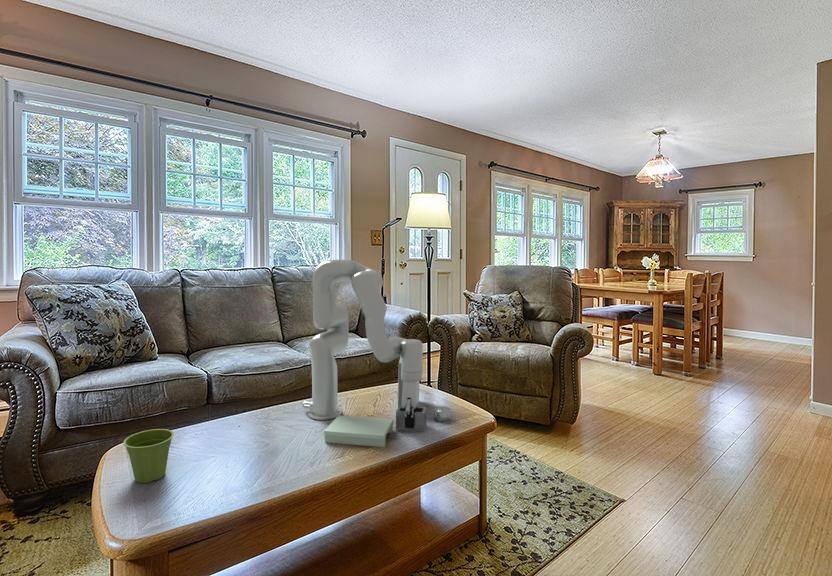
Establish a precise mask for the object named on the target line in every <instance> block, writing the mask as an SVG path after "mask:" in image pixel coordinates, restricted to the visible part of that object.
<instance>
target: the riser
mask: <svg viewBox="0 0 832 576" xmlns="http://www.w3.org/2000/svg"><path fill="white" fill-rule="evenodd" d="M393 429H394V418H383V417H382V418H381V417H368V416H367V417H366V416H356V415H355V416H354V415H342V414H341V415H338V416H337V417H336V418H334V420H333V421H331V423H330V424H329V425H328V426H327V427H326V428H325V429H324V431H323V435H324V443H329V444H332V443H333V444H344V445H354V446H355V445H356V446H365V447H366V446H367V447H378V448H385V446H386V443H387V441H386V437H387V434H392V433H393V431H394V430H393Z"/></svg>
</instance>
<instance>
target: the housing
mask: <svg viewBox="0 0 832 576" xmlns="http://www.w3.org/2000/svg"><path fill="white" fill-rule="evenodd" d="M410 408H413V407H411V406H410ZM410 411H411V412H412V410H410ZM405 412H406V407H405V408H404V409H402V406H399V407H398V406H397V409H396V411H395V431H398V432H408V433H409V432H411V433H422V434H423V433H425V431H426V428H427V417H428V416H427V406H426V407H425V406H418V407H416V408H415V409H414V415H413V417H414V428H413V429H412V428H405Z"/></svg>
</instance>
